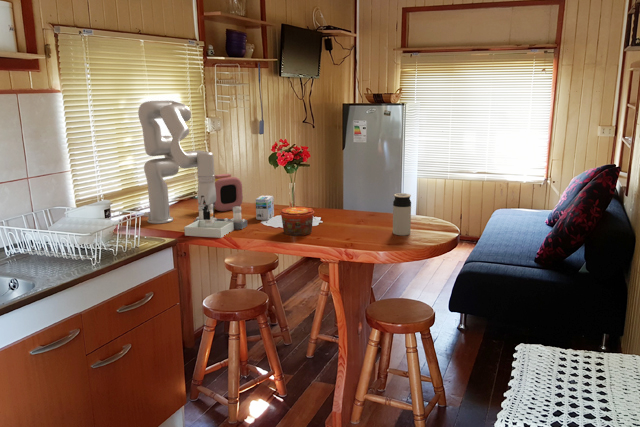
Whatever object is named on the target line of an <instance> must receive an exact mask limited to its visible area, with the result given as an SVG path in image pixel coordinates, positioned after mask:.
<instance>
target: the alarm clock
mask: <svg viewBox="0 0 640 427" xmlns="http://www.w3.org/2000/svg"><path fill="white" fill-rule="evenodd" d="M215 188H216V202H215V205H214V207H215V208H214V211H215V210H216V211H218V212H222V213H223V212H227V211H233V207H235V206H240V207H242V206H241V205H242V203H243V198H244V197H243V184H242V181H241V179H240V178H238V177H237V176H232V173H231V174H230V173H221V174H220V173H219V174H215Z"/></svg>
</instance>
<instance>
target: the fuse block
mask: <svg viewBox="0 0 640 427" xmlns="http://www.w3.org/2000/svg"><path fill="white" fill-rule="evenodd" d="M213 219H214V221H228V222H233V225H234V230H240V229H242V230H244V229H245V228H246V227H248V219H245V218H241V219H242V220H241V223H234V219H233V218H228V217H226V218H217V217H214V218H213ZM197 220H199V216H197V217H195V219H194V220H193V222H195V221H197ZM243 228H244V229H243Z"/></svg>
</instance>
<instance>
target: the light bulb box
mask: <svg viewBox="0 0 640 427" xmlns="http://www.w3.org/2000/svg"><path fill="white" fill-rule="evenodd" d="M274 202H275V201H274V196H273V195H259V196H258V197H257V198H255V214H256V215H255V217H256V220H259V221H260V220H261V221H262V220H264V221H269V220H270V219H272V218H273V217H274V216H275V209H274V208H275V206H274V204H275V203H274Z"/></svg>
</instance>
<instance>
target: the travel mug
mask: <svg viewBox="0 0 640 427" xmlns="http://www.w3.org/2000/svg"><path fill="white" fill-rule="evenodd" d="M393 196H394V199H393V201H392V202H393V203H392V206H393V207H392V208H393V209H392V233H393V234H394V235H396V236H408V235H410V234H411V228H412V227H411V220H412V219H411V218H412V201H411V196H412V195H411V194H410V193H401V192H400V193H395V194H393Z"/></svg>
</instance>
